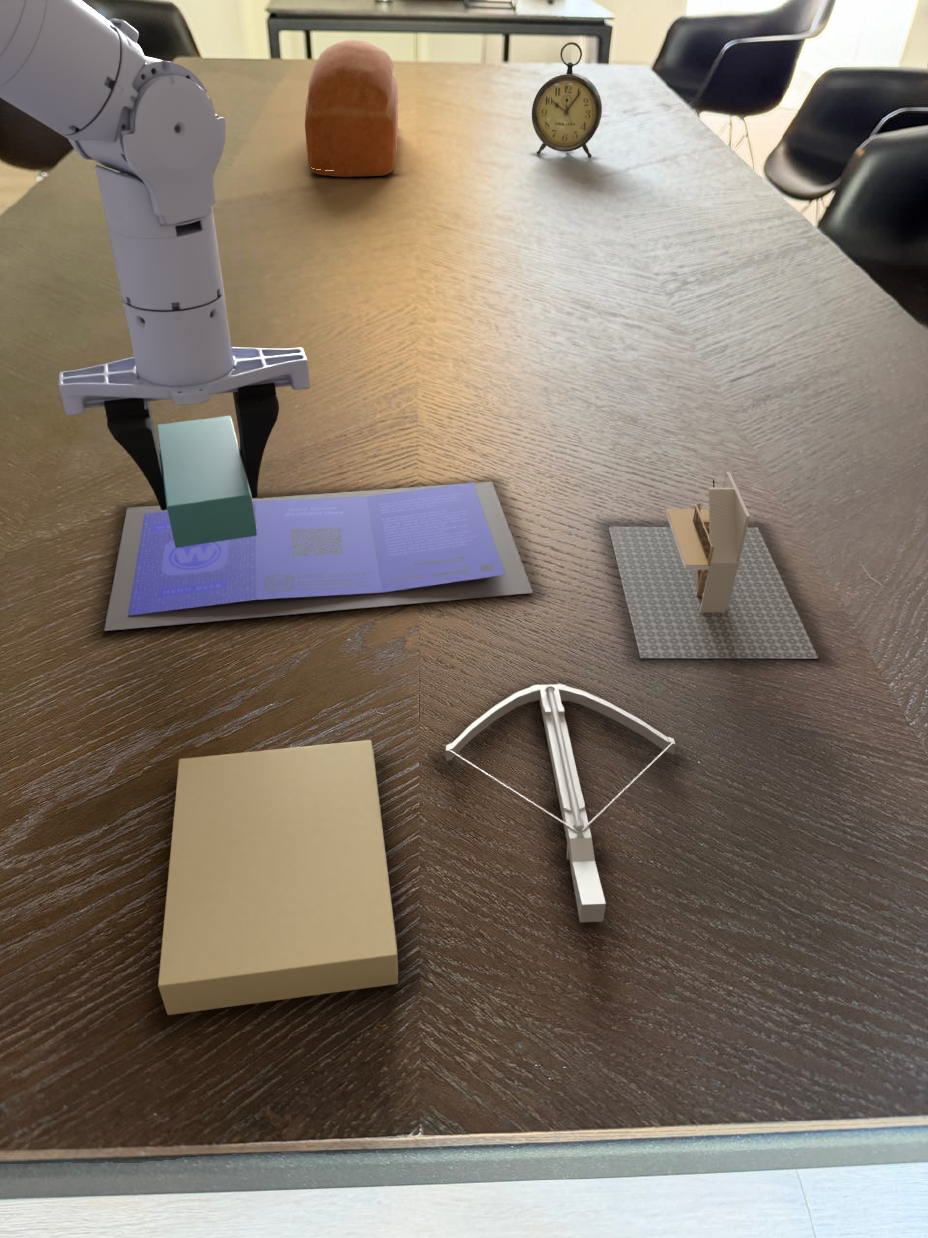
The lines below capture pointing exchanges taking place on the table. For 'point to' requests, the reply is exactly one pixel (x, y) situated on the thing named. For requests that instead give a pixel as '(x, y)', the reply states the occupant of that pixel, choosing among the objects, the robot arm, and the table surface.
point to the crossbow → (568, 777)
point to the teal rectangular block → (205, 482)
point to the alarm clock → (566, 110)
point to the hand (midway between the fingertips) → (207, 496)
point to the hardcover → (276, 879)
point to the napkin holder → (707, 586)
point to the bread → (352, 111)
